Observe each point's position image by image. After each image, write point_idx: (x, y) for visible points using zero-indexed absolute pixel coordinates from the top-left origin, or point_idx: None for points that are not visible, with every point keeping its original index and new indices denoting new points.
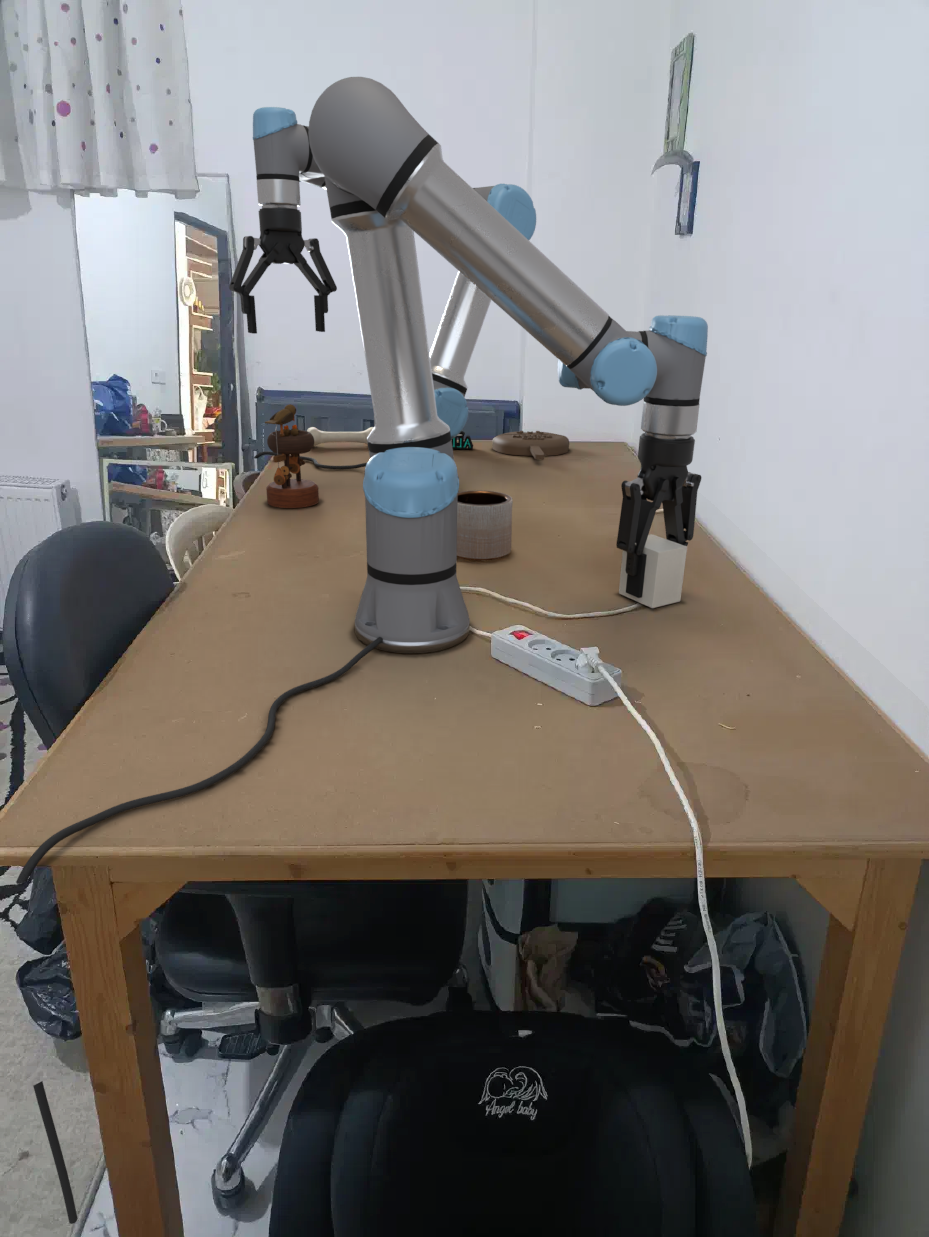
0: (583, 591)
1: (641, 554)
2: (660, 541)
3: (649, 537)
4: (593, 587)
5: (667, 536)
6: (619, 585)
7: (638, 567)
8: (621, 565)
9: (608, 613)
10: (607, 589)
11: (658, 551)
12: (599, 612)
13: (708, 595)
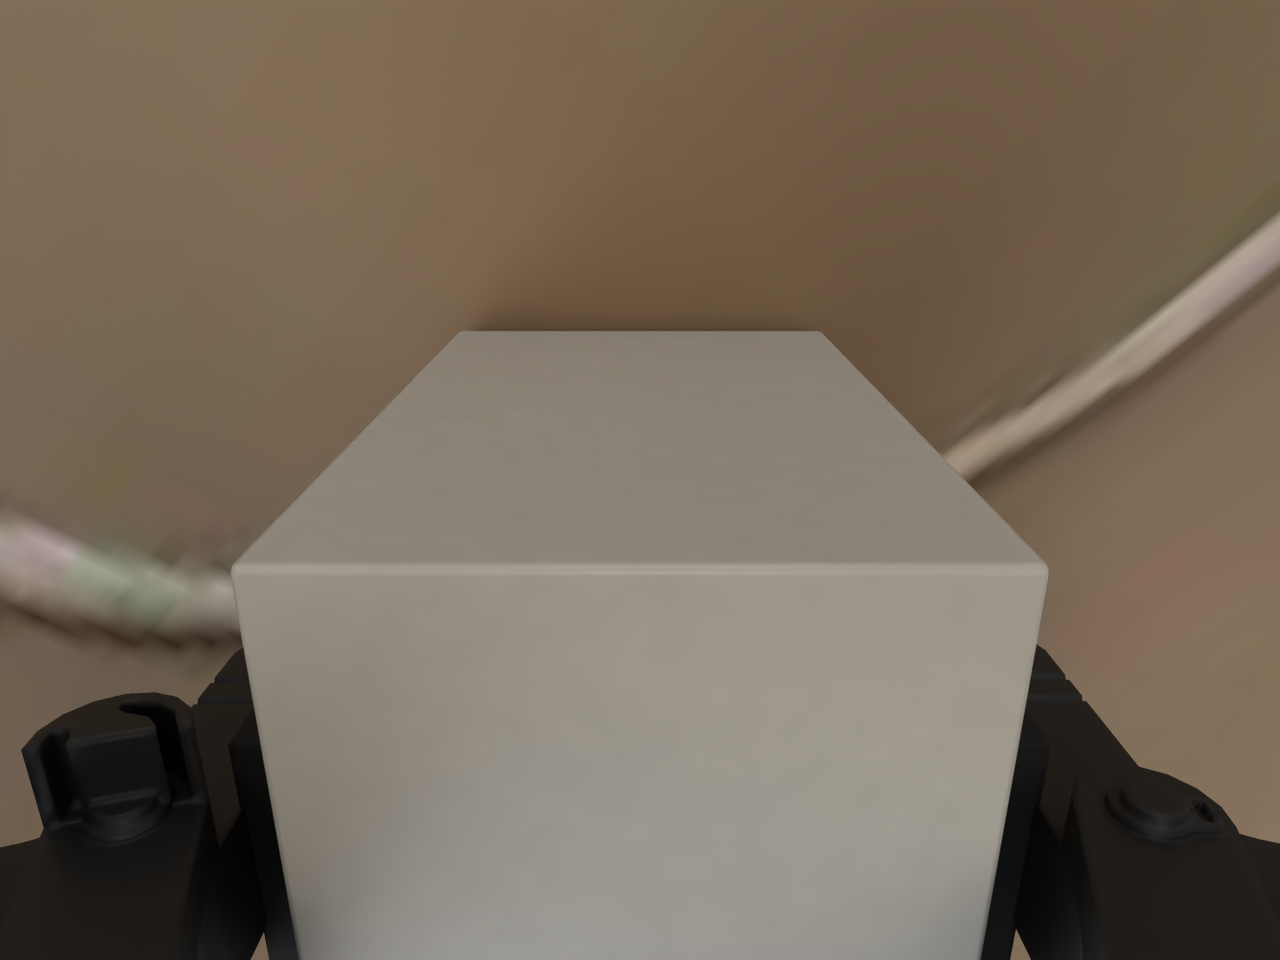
0: (195, 66)
1: (277, 940)
2: (779, 945)
3: (802, 708)
4: (362, 23)
5: (1079, 887)
6: (441, 350)
7: None
8: (382, 411)
9: (122, 600)
10: (459, 155)
11: None
12: (63, 551)
13: (1107, 712)
